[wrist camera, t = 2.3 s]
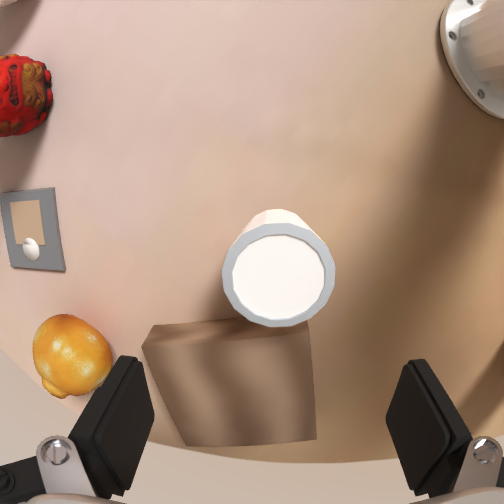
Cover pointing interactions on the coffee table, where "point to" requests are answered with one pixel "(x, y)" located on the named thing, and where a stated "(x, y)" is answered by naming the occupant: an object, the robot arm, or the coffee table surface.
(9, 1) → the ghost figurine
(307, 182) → the coffee table surface
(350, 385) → the coffee table surface
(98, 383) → the fruit
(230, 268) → the shot glass
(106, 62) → the coffee table surface
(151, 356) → the walnut block
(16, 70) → the red clay folk toy
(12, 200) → the card
